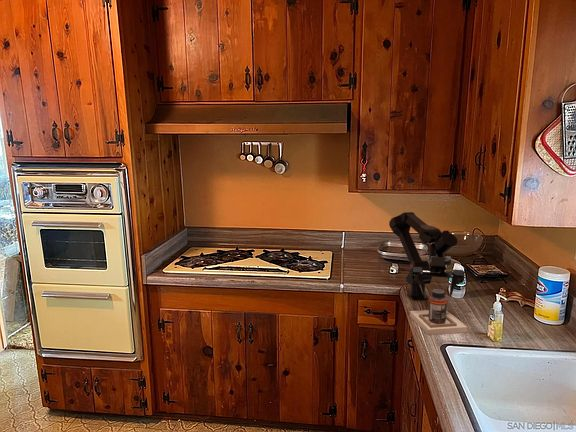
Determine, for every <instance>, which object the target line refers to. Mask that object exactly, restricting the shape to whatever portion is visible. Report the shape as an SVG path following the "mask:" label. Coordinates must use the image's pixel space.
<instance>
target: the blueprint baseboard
mask: <svg viewBox="0 0 576 432" xmlns="http://www.w3.org/2000/svg"><path fill="white" fill-rule="evenodd" d="M409 317H410V318H411V320H413V321H414V322H415V323H416V324H417V325H418V326H419V328H421V330H423V331H424V332H425V333H426V334H427V336H433V335H435V336H436V335H446V334H461V333H462V334H464V333H467V332H468V326H467V325H466V324H465V323H463V322H462V321H460V320H459V319H458V318H457V317H456V316H455V315H453V314H452V313H451V312H450V311H448V310H446V322H445V323H442V324H436V323H432V322H431V321H429V309H422V310H421V309H420V310H409Z"/></svg>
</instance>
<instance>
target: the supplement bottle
mask: <svg viewBox="0 0 576 432" xmlns="http://www.w3.org/2000/svg"><path fill="white" fill-rule="evenodd" d="M445 295H446V294H445V291H444V290H443V289H440V288H436V289H432V293H431V295H430V296H429V297H428V299H429V300H428V301H429V302H428V310H429V321H431V322H432V323H436V324H442V323H445V322H446V310H447V307H448V305H447V304H448V298H447V297H446V296H445ZM447 311H448V310H447Z"/></svg>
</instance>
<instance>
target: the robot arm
mask: <svg viewBox="0 0 576 432" xmlns="http://www.w3.org/2000/svg"><path fill="white" fill-rule="evenodd" d="M388 225H389V228H390V229H391V231H392V233H393V234H394V235H396V236H397V237H398V238H399V240H400V242H401V246H402V248H403V250H404V253H405V255H406V257H407V260H408V262H409V269H408V272H409V273H408V274H407V276H406V277H405V280H406V283H407V284H409V285H410V292H408V293H407V296H409V298H410V299H412V300H428V299H429V296H426V285H430V284H431V282H432V279H433V278H434V277H435V278H437V277H438V278H445V279H446V278H447V279H451V281H450V287H449V298H452V295H453V292H454V290H455V287H456V286H457V285H460V284H463V283H464V281H465V276H466V275H465V271H464V270H463V269H457V268H456V269H452V272H447V271H446V270H447V266H451V265H452V256H451V255H446V253H449V252H450V251H451V250H452V249H453V248H454V247H455V246H456V245H457V244H458V238H457V237H456V236H455V235H454V234H453V233H450V231H449V230H442V231H441V230H440V228H438V227H436V226H434V225H429V224H427V223H426V222H425V221H424V220H422V219H421V218H420V217H418V216H417V215H416V214H415V212H412V211H409V212H408V211H405V212H402V213H401V214H399V215H396V216H393V217H392V218H391V219H390V220H389V223H388ZM411 228H412V229H413V230H414V231H415V232H416V233H417V234H418V238H419V240H420V241H421V242H422V244H425V245H426V244H430V245H429V246H428V248H427V250H426V251H427V252H428V261H427V260H423V259H422V257H421V256H420V253H419V250H418V249H417V246H416V244H415V241H414V239H413V237H412V235H411V233H410V231H411Z"/></svg>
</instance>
